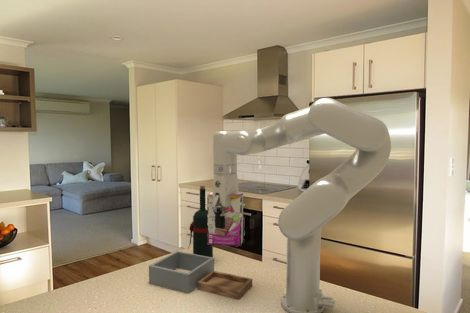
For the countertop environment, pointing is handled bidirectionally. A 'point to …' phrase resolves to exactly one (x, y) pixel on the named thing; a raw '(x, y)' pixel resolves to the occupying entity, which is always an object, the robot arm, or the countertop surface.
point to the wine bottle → (200, 229)
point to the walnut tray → (225, 284)
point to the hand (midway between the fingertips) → (225, 224)
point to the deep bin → (177, 280)
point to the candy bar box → (226, 222)
